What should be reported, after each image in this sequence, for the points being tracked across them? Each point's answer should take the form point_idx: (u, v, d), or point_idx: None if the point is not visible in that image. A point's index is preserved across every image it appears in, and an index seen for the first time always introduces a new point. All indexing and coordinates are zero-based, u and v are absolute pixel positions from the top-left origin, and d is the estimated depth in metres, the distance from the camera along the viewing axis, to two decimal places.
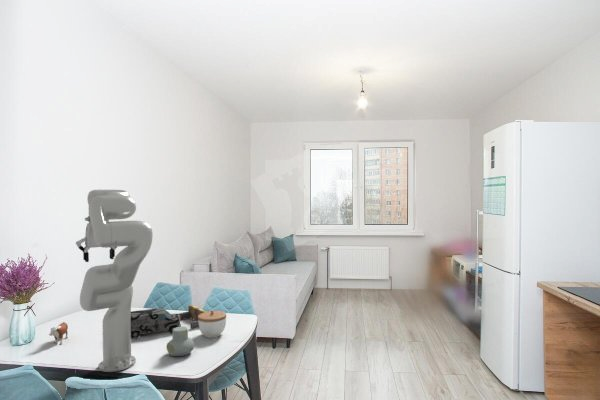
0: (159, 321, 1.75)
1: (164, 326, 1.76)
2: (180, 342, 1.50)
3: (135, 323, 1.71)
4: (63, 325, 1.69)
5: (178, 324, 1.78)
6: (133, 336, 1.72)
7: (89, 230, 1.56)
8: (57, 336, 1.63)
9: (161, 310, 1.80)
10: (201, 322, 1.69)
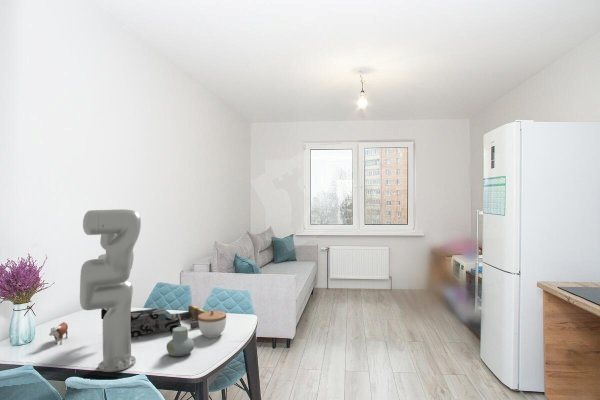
0: (159, 321, 1.75)
1: (164, 326, 1.76)
2: (180, 342, 1.50)
3: (135, 323, 1.71)
4: (63, 325, 1.69)
5: (178, 324, 1.78)
6: (133, 336, 1.72)
7: None
8: (57, 336, 1.63)
9: (161, 310, 1.80)
10: (201, 322, 1.69)
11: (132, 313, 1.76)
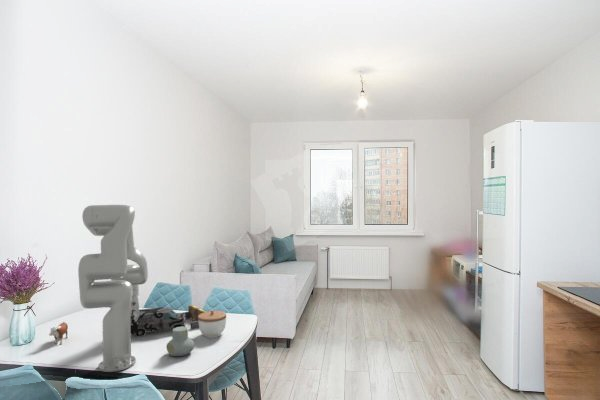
0: (164, 320, 1.76)
1: (168, 325, 1.77)
2: (180, 342, 1.50)
3: (140, 322, 1.73)
4: (63, 325, 1.69)
5: (182, 323, 1.78)
6: (138, 334, 1.73)
7: (138, 302, 1.70)
8: (57, 336, 1.63)
9: (166, 309, 1.81)
10: (201, 322, 1.69)
11: None
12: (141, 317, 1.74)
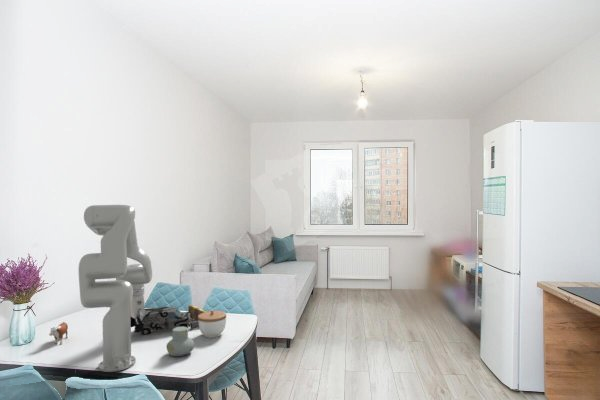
0: (169, 319, 1.77)
1: (173, 324, 1.78)
2: (180, 342, 1.50)
3: (145, 321, 1.74)
4: (63, 325, 1.69)
5: (188, 323, 1.79)
6: (144, 333, 1.74)
7: None
8: (57, 336, 1.63)
9: (171, 308, 1.82)
10: (201, 322, 1.69)
11: None
12: (147, 316, 1.75)
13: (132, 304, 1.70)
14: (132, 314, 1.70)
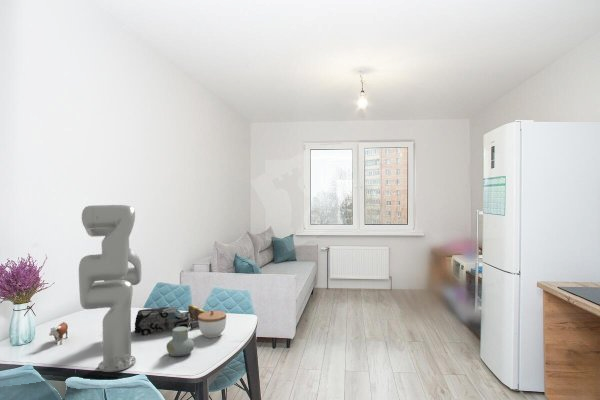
0: (169, 320, 1.77)
1: (173, 325, 1.77)
2: (180, 342, 1.50)
3: (145, 321, 1.74)
4: (63, 325, 1.69)
5: (188, 323, 1.79)
6: (144, 334, 1.74)
7: None
8: (57, 336, 1.63)
9: (171, 309, 1.82)
10: (201, 322, 1.69)
11: (143, 311, 1.79)
12: (147, 317, 1.75)
13: None
14: None
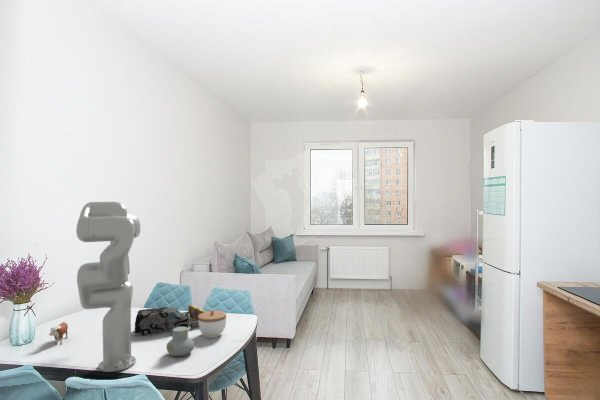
0: (169, 320, 1.77)
1: (174, 325, 1.77)
2: (180, 342, 1.50)
3: (145, 322, 1.74)
4: (63, 325, 1.69)
5: (188, 323, 1.79)
6: (144, 334, 1.74)
7: (128, 258, 1.67)
8: (57, 336, 1.63)
9: (171, 309, 1.82)
10: (201, 322, 1.69)
11: (143, 311, 1.79)
12: (147, 317, 1.74)
13: None
14: None
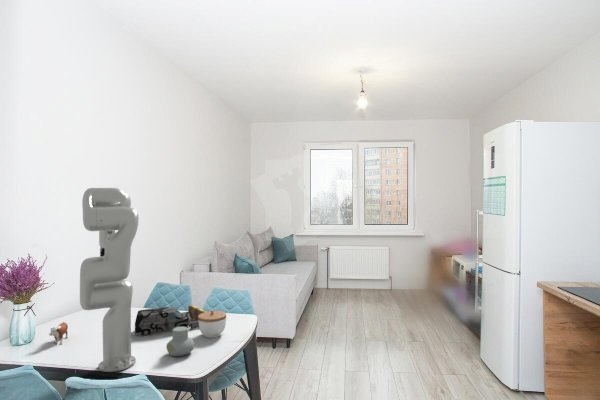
0: (169, 320, 1.77)
1: (174, 325, 1.77)
2: (180, 342, 1.50)
3: (145, 322, 1.74)
4: (63, 325, 1.69)
5: (188, 323, 1.80)
6: (144, 334, 1.74)
7: (114, 232, 1.72)
8: (57, 336, 1.63)
9: (171, 309, 1.81)
10: (201, 322, 1.69)
11: (143, 311, 1.78)
12: (147, 317, 1.74)
13: (102, 234, 1.70)
14: (103, 244, 1.71)
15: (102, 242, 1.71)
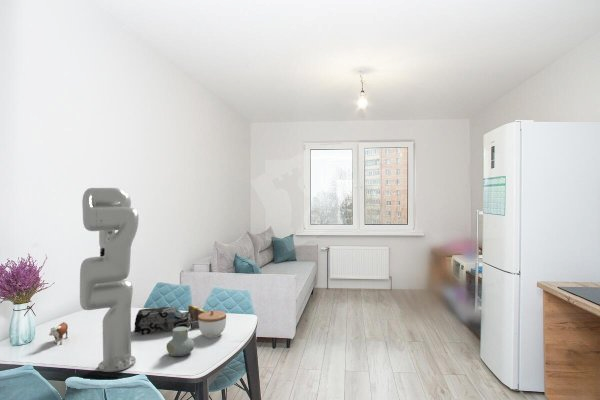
0: (168, 320, 1.77)
1: (173, 325, 1.77)
2: (180, 342, 1.50)
3: (145, 321, 1.75)
4: (63, 325, 1.69)
5: (187, 323, 1.79)
6: (143, 333, 1.75)
7: (114, 232, 1.72)
8: (57, 336, 1.63)
9: (171, 309, 1.82)
10: (201, 322, 1.69)
11: (143, 311, 1.79)
12: (146, 316, 1.75)
13: (102, 234, 1.70)
14: (102, 244, 1.71)
15: (102, 242, 1.71)
